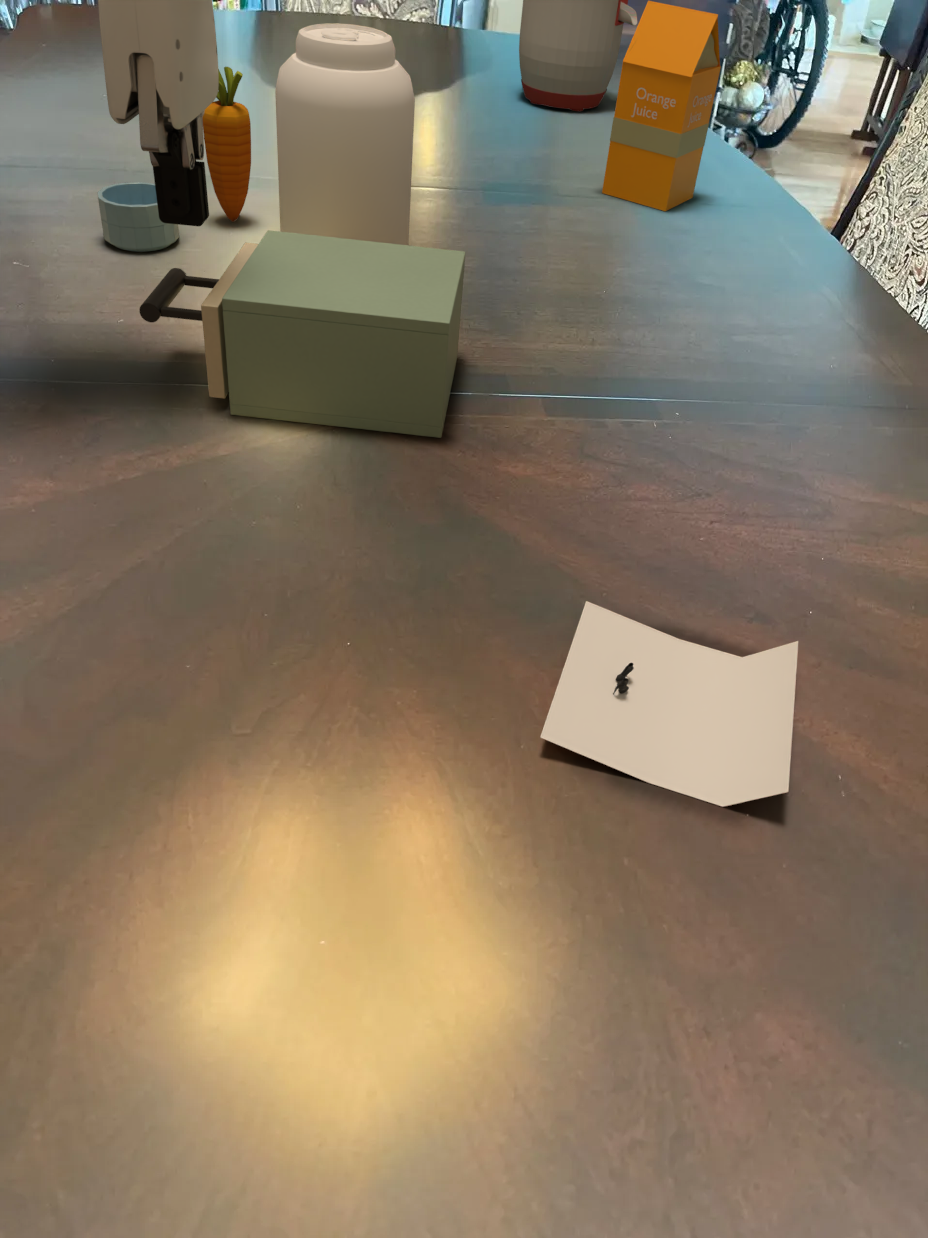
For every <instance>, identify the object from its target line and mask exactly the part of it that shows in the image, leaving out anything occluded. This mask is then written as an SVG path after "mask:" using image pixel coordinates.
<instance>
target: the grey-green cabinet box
mask: <svg viewBox="0 0 928 1238" xmlns="http://www.w3.org/2000/svg"><path fill="white" fill-rule="evenodd" d="M257 244H258V246H257V247H256V249H255V250H254V252H253V253H252V255H251V256H250V258H249V259H248V260H247V262H246V263H245V265H244V266H243V268H242V269H241V271H240V272H239V274H238V275H237V277H236V278H235V280H234V281H233V283H232V284H231V286H230V287H229V289H228V290H227V292H226V293H225V295H224V296H223V298H222V306H223V321H224V334H225V347H226V360H227V373H228V386H229V392H228V397H229V398H228V399H229V409H230V415H231V416H240V417H250V418H258V419H265V420H266V419H267V420H275V421H276V420H277V421H285V422H295V423H302V424H303V423H304V424H313V425H320V426H330V427H331V426H332V427H340V428H347V429H348V428H349V429H358V430H367V431H375V432H383V433H394V434H403V435H411V436H421V437H429V438H439V439H441V438H442V436H443V431H444V426H445V422H446V416H447V410H448V407H449V406H448V405H449V400H450V396H451V392H452V385H453V380H454V375H455V370H456V366H457V360H458V353H459V341H460V340H459V339H460V328H461V317H462V316H461V315H462V303H463V290H464V278H465V267H466V266H465V265H466V251H463V250H454V249H444V248H435V247H427V246H417V245H410V244H409V245H400V244H390V243H381V242H372V241H363V240H353V239H344V238H335V237H326V236H316V235H307V234H298V233H289V232H280V230H269V229H268V230H266V232H265V233H264V235H263V236H262V238H261V240H260V241H259V242H258V243H257Z"/></svg>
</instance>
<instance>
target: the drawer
mask: <svg viewBox="0 0 928 1238" xmlns="http://www.w3.org/2000/svg"><path fill="white" fill-rule="evenodd" d="M258 244H259V243H254V242H244V243H243V245H242V246H241V248H240V249H239V251H238V253H236V255H235V256H234V258H233V259H232V261H231V262H230V263H229V265H228V266H227V268H226V269H225V271H223V273H222V275H220V278H210V277H201V276H193V275H187V274H186V273H185V271H184V270H183V269H181V268H178V267H173V268H170V270H168V272H167V273H166V274H165V275H164V277H163V278H162V279H161V281H160V282H159V283H157V285H156V286H155V287H154V289H153V290H152V291H151V293H150V294H149V295H148V296H147V297H146V299H145V300H144V301H143V302H142V303H141V305H140V306H139V311H138V312H139V315H140V317H141V318H142V319H143V320H144V321H146V322H148V323H155V322H158V321H159V320H160V318H161V317H162V318H171V319H182V320H189V321H190V320H191V321H198V322H202V332H203V342H204V343H203V344H204V354H205V365H206V373H207V374H206V376H207V386H208V387H207V388H208V396H209V397H210V398H216V399H217V398H218V399H226V397H227V395H229V386H228V373H227V360H226V347H225V334H224V321H223V306H222V298H223V296H224V295H225V293H226V292H227V290H228V289H229V287H230V286H231V284H232V283H233V281H234V280H235V278H236V277H237V275H238V274H239V272H240V271H241V269H242V268H243V266H244V265H245V263H246V262H247V260H248V259H249V258H250V256H251V255H252V253H253V252H254V250H255V249H256V247H257V246H258ZM186 286H187V287H197V288H206V289H211V290H210V292H209V294H207V296H206V298H205V299H204V300H203V302H202V303H201V305H200V307H201V308H200V309H201V310H200V309H192V308H183V307H174V306H170V305H171V304H172V303H173V302H174V300H175V298H176V297H177V296H178V295H179V293H181V290H183V288H184V287H186Z"/></svg>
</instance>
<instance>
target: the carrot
mask: <svg viewBox="0 0 928 1238" xmlns="http://www.w3.org/2000/svg"><path fill="white" fill-rule="evenodd" d="M223 70H224V71H223V72H224V76H225V79H224V78H223V76H222V73H221V70H220V69H219V68H218V74H219V87H218V94H217V96H216V98H215V99H216V100H214V101H213V102H212V103H211V104H210V105H209V106H208V107H207V108H206V109H205V112H204V115H203V117H202V118H203V138H204V150H205V157H206V163H207V167H208V171H209V176H210V180H211V184H212V188H213V192H214V193H215V194H214V195H215V196H216V198H217V201H218V203H219V206H220V207H221V209H222V211H223V213H224V214H225V216H226V218H227V219H228V220H229V221H230V222H232V223H234V222H236V221H237V220H238V219H239V217H240V215H241V214H242V213H241V212H242V210H243V209H244V206H245V202H246V200H247V195H248V193H249V192H248V191H249V185H250V178H251V167H252V130H251V129H252V128H251V124H252V123H251V117H250V111H249V109H248V108H247V106H245V105H244V104H243V103H240V102H236V101H235V96H236V93H237V90H238V87H239V84H240V82H241V81H242V78H243V76H244V75H243V73H242V72H241V71H239V70H237V71H236V72H235V73H234V72H233V69H232V67H229V66H224V67H223ZM225 80H226V84H225Z"/></svg>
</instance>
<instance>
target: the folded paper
mask: <svg viewBox="0 0 928 1238" xmlns="http://www.w3.org/2000/svg"><path fill="white" fill-rule="evenodd" d="M582 609H583V610H582V612H581V614H580V617H579V621H578V624H577V627H576V629H575V632H574V635H573V639H572V642H571V644H570V648H569V650H568V654H567V657H566V659H565V663H564V666H563V668H562V670H561V674H560V677H559V680H558V683H557V685H556V689H555V692H554V695H553V698H552V701H551V704H550V707H549V710H548V713H547V716H546V718H545V722H544V725H543V729H542V731H541V733H540V739H543V740H546V741H547V742H550V743H553V744H555V745H557V746H560V747H562V748H565V749H567V750H569V751H572V752H574V753H576V754H578V755H581V756H584V757H586V758H588V759H591V760H594V761H595V762H598V763H600V764H603V765H604V766H605V765H606V766H607V767H610V768H612V769H615V770H617V771H619V772H622V773H624V774H627V775H629V776H632V777H634V778H636V779H639V780H641V781H643V782H646V783H648V784H651V785H655V786H658V787H660V788H664V789H666V790H670V791H673V792H676V793H679V794H682V795H685V796H688V797H691V798H694V799H698V800H700V801H704V802H708V803H710V804H713V805H716V806H720V807H722V808H723V807H728V806H732V805H737V804H742V803H745V802H750V801H754V800H759V799H764V798H768V797H772V796H777V795H781V794H785V793H789V789H790V775H791V774H790V773H791V756H792V745H793V744H792V743H793V742H792V741H793V729H794V728H793V727H794V715H795V714H794V712H795V697H796V682H797V681H796V680H797V669H798V668H797V667H798V654H799V653H798V652H799V640H797V641H793V642H790V643H786V644H783V645H779V646H776V647H773V648H769V649H766V650H763V651H759V652H756V653H751V654H748V655H745V656H739V655H736V654H733V653H729V652H725V651H722V650H718V649H715V648H711V647H709V646H704V645H701V644H698V643H695V642H691V641H689V640H688V641H687V640H684V639H681V638H678V637H675V636H673V635H670V634H669V633H665V632H663V631H660V630H658V629H655V628H653V627H651V626H648V625H647V624H644V623H641V622H638V621H636V620H634V619H631V618H629V617H626V616H624V615H622V614H619V613H617V612H614V611H612V610H609V609H608V608H605V607H603V606H601V605H597V604H595V603H592V602H590V601H588V600H586V601H585V603H584V606H583V608H582Z"/></svg>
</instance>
